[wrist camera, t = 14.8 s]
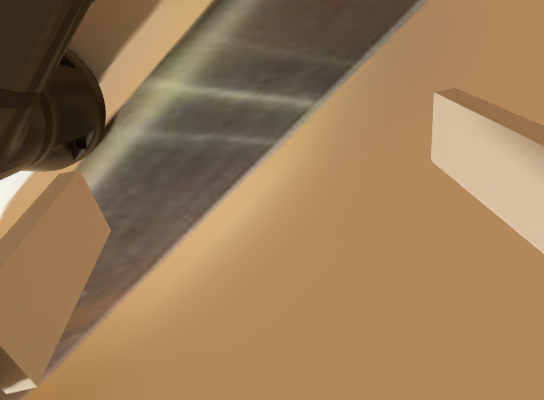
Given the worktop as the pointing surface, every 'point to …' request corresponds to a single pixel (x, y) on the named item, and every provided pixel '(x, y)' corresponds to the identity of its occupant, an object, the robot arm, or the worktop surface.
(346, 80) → the worktop surface
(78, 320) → the worktop surface
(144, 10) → the worktop surface
